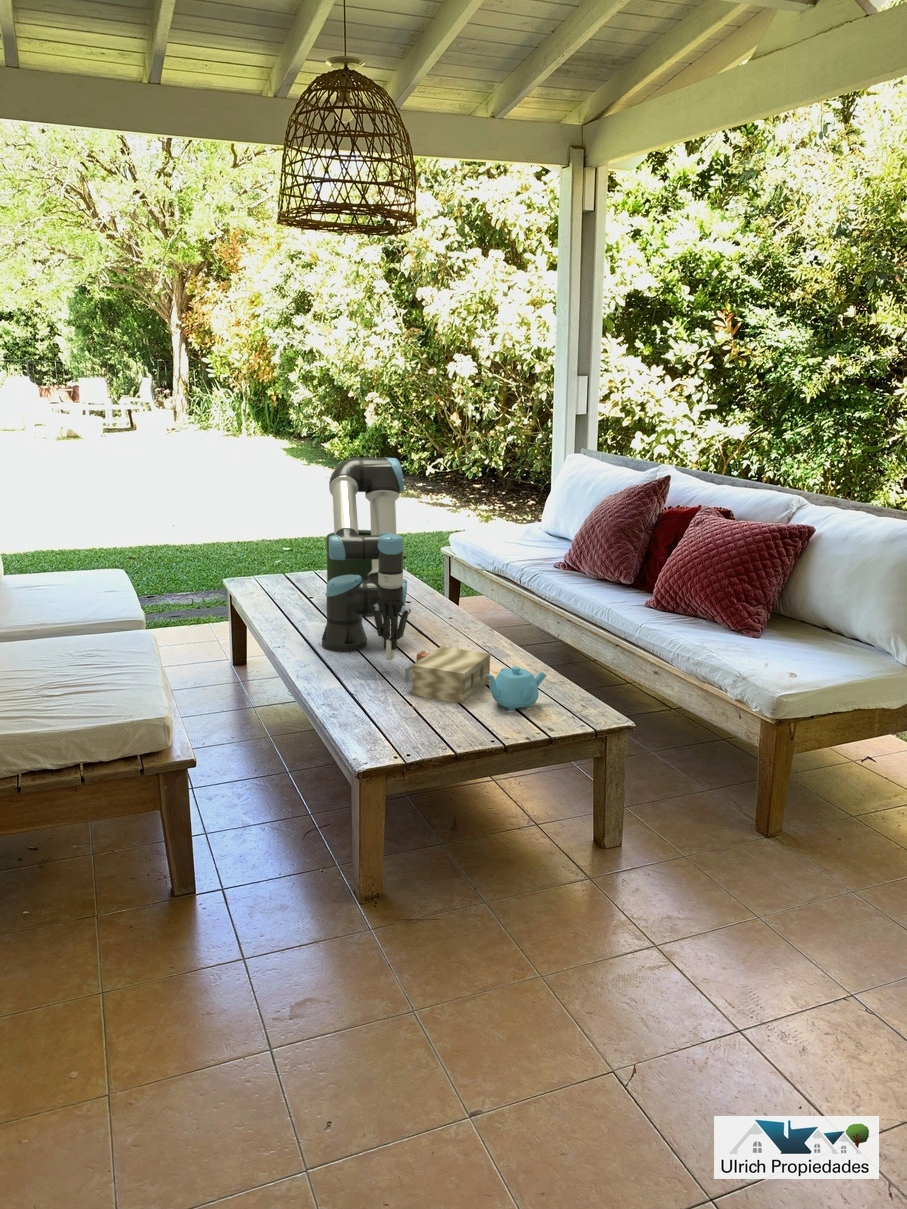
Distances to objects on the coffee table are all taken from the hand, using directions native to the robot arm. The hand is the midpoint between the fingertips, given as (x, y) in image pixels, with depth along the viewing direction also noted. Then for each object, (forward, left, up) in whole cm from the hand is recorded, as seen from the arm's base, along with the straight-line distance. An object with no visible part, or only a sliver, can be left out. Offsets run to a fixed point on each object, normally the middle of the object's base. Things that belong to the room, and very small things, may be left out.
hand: (390, 658), depth 297 cm
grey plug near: (+22, -14, 0) cm, 26 cm away
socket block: (+24, -7, -3) cm, 25 cm away
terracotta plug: (+19, 0, 0) cm, 19 cm away
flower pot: (-43, +58, -4) cm, 72 cm away
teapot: (+46, -12, -4) cm, 48 cm away
